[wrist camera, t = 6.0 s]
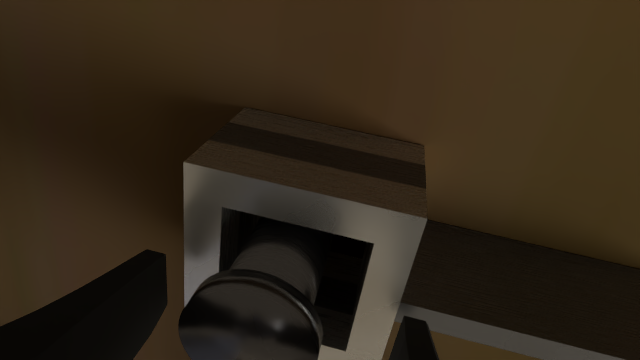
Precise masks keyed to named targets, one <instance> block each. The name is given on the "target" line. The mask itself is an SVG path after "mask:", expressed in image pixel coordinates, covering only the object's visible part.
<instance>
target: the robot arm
mask: <svg viewBox="0 0 640 360" xmlns="http://www.w3.org/2000/svg"><path fill="white" fill-rule="evenodd" d="M166 306H167V277H166V254H163V253H159V252H155V251H151V250H145V251H143V252H141V253H140V254H138V255H136V256H134V257H133V258H131V259H129V260H128V261H126V262H124V263H122V264H121V265H119V266H117V267H116V268H114V269H112V270H111V271H109V272H107V273H105V274H104V275H102V276H100V277H98V278H97V279H95V280H93V281H91V282H90V283H88V284H86V285H84V286H83V287H81V288H79V289H77V290H75V291H73V292H71V293H69V294H68V295H66V296H64V297H62V298H60V299H58V300H56V301H54V302H52V303H50V304H48V305H46V306H44V307H42V308H40V309H38V310H36V311H34V312H32V313H30V314H28V315H26V316H23V317H21V318H19V319H17V320H14V321H12V322H10V323H7V324H5V325H3V326H0V360H133V358H134V357H135V356H136V354H137V353H138V351H139V350H140V349H141V347H142V346H143V344H144V343H145V342H146V340H147V339H148V337H149V336H150V335H151V333H152V331H153V329H154V328H155V326H156V324H157V322H158V321H159V319H160V317H161V315H162V313H163V311H164V309H165V308H166ZM389 360H439V358H438V355H437V352H436V349H435V346H434V343H433V340H432V337H431V333H430V330H429V326H428V324H427V322H426V321H424V320H420V319H416V318H412V317H408V316H404V317H403V320H402V323H401V325H400V328H399V331H398V334H397V337H396V340H395V343H394V346H393V349H392V352H391V355H390V358H389Z"/></svg>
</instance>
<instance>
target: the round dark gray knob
mask: <svg viewBox="0 0 640 360" xmlns="http://www.w3.org/2000/svg"><path fill="white" fill-rule="evenodd" d="M333 237H334V234H333V233H329V232H324V231H320V230H316V229H312V228H308V227H304V226H300V225H295V224H291V223H287V222H283V221H279V220H275V219H271V218H266V217H262V216H261V217H260V219H259V220H258V222H257V224H256V225H255V227H254V229H253V231H252V232H251V234H250V236H249V237H248V239H247V241H246V242H245V244H244V246H243V247H242V249H241V251H240V253H239V254H238V256H237V258H236V259H235V261H234V263H233V264H232V266H231V268H230V269H229V270H225V271H221V272H218V273H216V274H214V275H212V276H210V277H208V278H207V279H205V280H204V281H203V282H202V283H201V284H200V285H199V287H198V288H197V290H196V291H195V293H194V294H193V296H192V297H191V299H190V300H189V302H188V303H187V305H186V306H185V308H184V309H183V311H182V313H181V315H180V319H179V336H180V339H181V342H182V345H183V347H184V349H185V350H186V352H187V354H188V355H189V357H190V358H191V359H192V360H318V356H319V352H320V348H321V344H322V340H323V328H322V323H321V320H320V317H319V315H318V313H317V311H316V309H315V308H314V303H315V299H316V296H317V292H318V289H319V286H320V282H321V279H322V275H323V272H324V268H325V265H326V261H327V258H328V255H329V251H330V248H331V244H332V241H333Z"/></svg>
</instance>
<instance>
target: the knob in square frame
mask: <svg viewBox="0 0 640 360" xmlns="http://www.w3.org/2000/svg"><path fill="white" fill-rule="evenodd" d="M183 171H184V300H185V306H186V305H187V303H188V302H189V300H190V299H191V297H192V296H193V294H194V293H195V291H196V290H197V288H198V287H199V285H200V284H201V283H202V282H203V281H204V280H205V279H207V278H208V277H210V276H212V275H214V274H216V273H218V272H221V271H225V270H229V269H230V268H231V266H232V264H233V263H234V261H235V259H236V258H237V256H238V254H239V253H240V251H241V249H242V247H243V246H244V244H245V242H246V241H247V239H248V237H249V236H250V234H251V232H252V231H253V229H254V227H255V225H256V224H257V222H258V220H259V219H260V217H261V216H262V217H266V218H271V219H275V220H279V221H283V222H287V223H291V224H295V225H300V226H304V227H308V228H312V229H316V230H320V231H324V232H329V233H333V234H337V235H341V236H345V237H349V238H353V239H358V240H362V241H366V246H365V250H364V254H363V258H362V259H361V258H357V257H353V256H349V255H345V254H341V253H337V252H333V251H329V255H328V258H327V261H326V265H325V268H324V272H323V275H322V279H321V282H320V286H319V289H318V292H317V296H316V299H315V303H314V308H315V309H316V311H317V313H318V315H319V317H320V320H321V323H322V328H323V340H322V344H321V348H320V352H319V356H318V360H381V359H382V356H383V353H384V350H385V347H386V344H387V341H388V338H389V335H390V332H391V329H392V326H393V323H394V321H396V322H400V323H402V320H403V317H404V316H408V317H412V318H416V319H420V320H424V321H426V322H427V324H428V326H429V330H431V331H435V332H439V333H443V334H446V335H450V336H454V337H458V338H462V339H466V340H470V341H473V342H477V343H481V344H485V345H489V346H493V347H497V348H500V349H504V350H508V351H512V352H516V353H520V354H524V355H527V356H531V357H535V358H539V359H543V360H640V269H636V268H632V267H628V266H623V265H619V264H615V263H610V262H606V261H602V260H598V259H593V258H589V257H585V256H580V255H576V254H572V253H567V252H563V251H559V250H555V249H550V248H546V247H542V246H537V245H533V244H529V243H524V242H520V241H516V240H512V239H507V238H503V237H499V236H494V235H490V234H486V233H482V232H477V231H473V230H469V229H464V228H460V227H456V226H451V225H447V224H443V223H439V222H434V221H430V220H427V197H426V173H425V150H424V146H423V145H418V144H413V143H409V142H404V141H399V140H395V139H390V138H385V137H381V136H376V135H372V134H367V133H362V132H358V131H353V130H348V129H344V128H339V127H334V126H330V125H325V124H320V123H316V122H311V121H307V120H302V119H297V118H293V117H288V116H283V115H279V114H274V113H269V112H265V111H260V110H255V109H251V108H246V107H245V108H244V109H243V110H242V111H241V112H239V113H238V114H237V115H236V116H235V117H234V118H233V119H232V120H230V121H229V122H228V123H227V124H226V125H225V126H224V127H223V128H221V129H220V130H219V131H218V132H217V133H216V134H215V135H213V136H212V137H211V138H210V139H209V140H208V141H207V142H206V143H204V144H203V145H202V146H201V147H200V148H199V149H198V150H197V151H195V152H194V153H193V154H192V155H191V156H190V157H189V158H187V159H186V160H185V161H184V162H183Z"/></svg>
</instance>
